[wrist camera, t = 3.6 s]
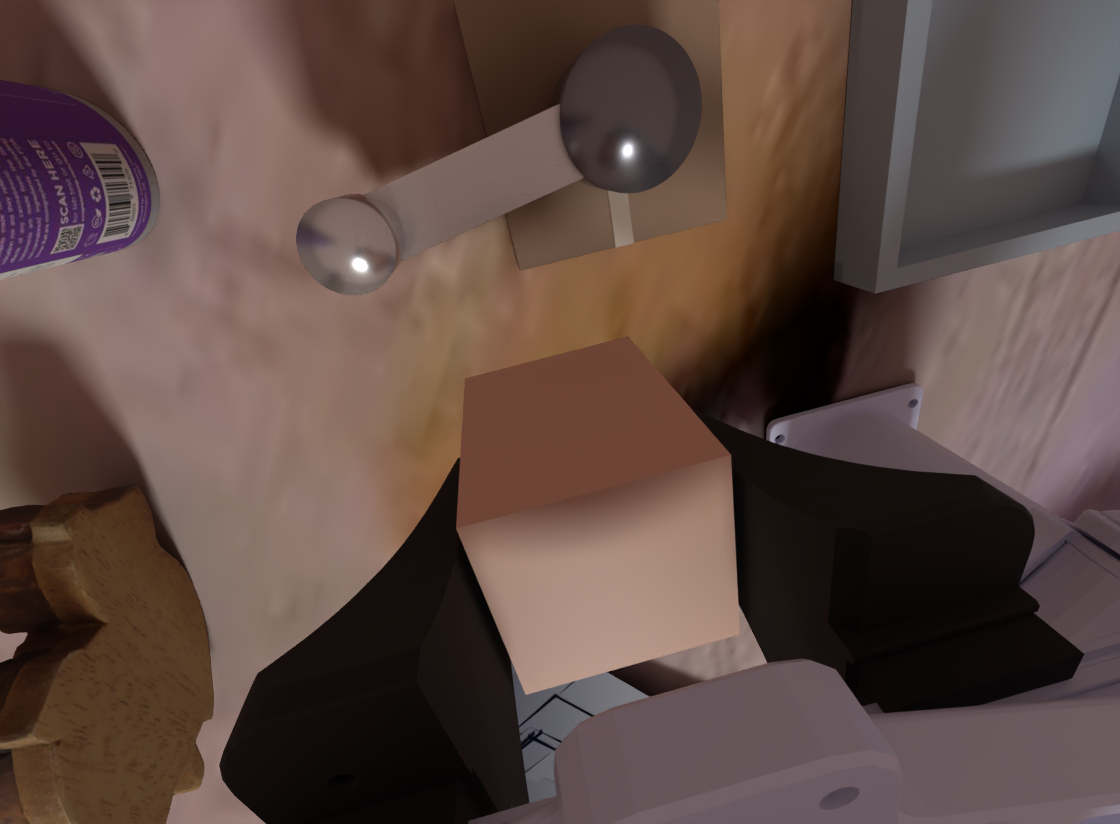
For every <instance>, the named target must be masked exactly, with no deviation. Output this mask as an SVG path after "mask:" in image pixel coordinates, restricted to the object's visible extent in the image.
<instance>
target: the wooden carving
mask: <svg viewBox="0 0 1120 824" xmlns="http://www.w3.org/2000/svg"><path fill="white" fill-rule="evenodd" d="M0 630H1V632H3V633H7V634H12V633H20V632H27V633H28V635H27V637H26V639H25V641H24V642H23V643H22V644H21V645H19V646H18V647H17V649H16V651H15V653H14V656H13V659H9V660H6V661H4V662H1V663H0V824H166V821H167V817H168V814H169V810H170V806H171V801H172V797H173V795H176V794H180V793H186V792H189V791H193V790H196V789H198V788H199V787H200V785H201V783H202V779H203V776H204V761H203V759H202V756H201V754H200V752H199V749H198V747H197V745H196V738H197V736H198V734H199V731H200V729H201V726H202V724H203V722H204V721H206V720H209V719H212V716H213V707H214V691H213V681H212V671H211V657H210V649H209V640H208V633H207V628H206V623H205V619H204V615H203V611H202V608H201V605H200V600H199V598H198V596H197V593H196V591H195V588H194V586H193V583H192V581H191V580H190V578H189V576H188V574H187V572H186V571H185V569H184V568H183V567H182V565H181V564H180V563H179V561H178V560H176V559H175V558H174V557H173V556H172V555H170V554H169V553H168V552H166V551H165V550H164V549H163V548H162V547H161V546H159V543H158V541H157V538H156V533H155V526H154V522H153V517H152V511H151V508H150V506H149V505H148V503H147V500H146V497H145V496H144V494H143V493H142V491H141V489H140V488H138V487H137V486H136V485H132V486H125V487H118V488H111V489H107V490H104V491H99V492H88V493H68V494H65V495H62V496H61V497H59V498H57V499H56V500H54V501H53V502H51V503H50V504H48V505H26V506H19V507H11V508H8V509H4V510H0Z"/></svg>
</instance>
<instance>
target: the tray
mask: <svg viewBox="0 0 1120 824" xmlns="http://www.w3.org/2000/svg"><path fill="white" fill-rule="evenodd" d="M1117 231H1120V0H853V4H852V18H851V33H850V47H849V62H848V76H847V91H846V105H845V120H844V135H843V149H842V164H841V178H840V193H839V207H838V222H837V236H836V251H835V266H834V280H835V281H838V282H841V283H844V284H847V285H850V286H853V287H856V288H859V289H862V290H865V291H868V292H871V293H874V294H876V293H880V292H884V291H888V290H892V289H896V288H899V287H903V286H907V285H911V284H915V283H919V282H923V281H927V280H931V279H934V278H938V277H942V276H946V275H950V274H954V273H958V272H962V271H966V270H969V269H973V268H977V267H981V266H985V265H989V264H993V263H997V262H1001V261H1004V260H1008V259H1012V258H1016V257H1020V256H1024V255H1028V254H1032V253H1036V252H1039V251H1043V250H1047V249H1051V248H1055V247H1059V246H1063V245H1067V244H1071V243H1074V242H1078V241H1082V240H1086V239H1090V238H1094V237H1098V236H1102V235H1106V234H1109V233H1113V232H1117Z"/></svg>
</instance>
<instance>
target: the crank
mask: <svg viewBox="0 0 1120 824" xmlns="http://www.w3.org/2000/svg"><path fill="white" fill-rule="evenodd" d="M701 112H702V95H701V88H700V82H699V79H698V75H697V72H696V69H695V67H694V64H693V62H692V61H691V59H690V57H689V55H688V54H687V52H686V51H685V50H684V48H683V47H682V46H681V45H680V44H679V43H678V42H677V41H676V40H675V39H674V38H673V37H671V36H670V35H668V34H667V33H665V32H663V31H661V30H659V29H657V28H654V27H651V26H646V25H626V26H621V27H618V28H615V29H613V30H610V31H608V32H606V33H605V34H603V35H601V36H600V37H599V38H597V39H596V40H595V41H593V42H592V43H591V44H590V45H589V46H588V47H587V48H586V49H585V50H584V51H583V53H582V54H581V55H580V56H579V57H578V58H577V59H576V60H575V61H574V62H573V63H572V64H571V65H570V66H569V67H568V68H567V69H566V71H565V72H564V73H563V75H562V76H561V78H560V80H559V82H558V83H557V86H556V88H555V91H554V93H553V97H552V100H551V105H550V108H549V109H547V110H545V111H543V112H541V113H539V114H537V115H534V116H532V117H530V118H528V119H526V120H524V121H522V122H519V123H517V124H515V125H513V126H511V127H509V128H506V129H504V130H502V131H500V132H498V133H496V134H494V135H491V136H489V137H487V138H485V139H483V140H481V141H478V142H476V143H474V144H472V145H470V146H468V147H466V148H463V149H461V150H459V151H457V152H455V153H453V154H450V155H448V156H446V157H444V158H442V159H440V160H438V161H435V162H433V163H431V164H429V165H427V166H425V167H422V168H420V169H418V170H416V171H414V172H412V173H410V174H407V175H405V176H403V177H401V178H399V179H397V180H394V181H392V182H390V183H388V184H386V185H384V186H382V187H379V188H377V189H375V190H373V191H371V192H369V193H366V194H364V195H362V194H348V195H344V196H340V197H336V198H332V199H328V200H324V201H322V202H319V203H317V204H315V205H314V206H312V207H311V208H310V209H309V210H308V211H307V212H306V213H305V214H304V215H303V217H302V219H301V221H300V223H299V225H298V229H297V236H296V243H297V249H298V253H299V256H300V259H301V261H302V263H303V265H304V266H305V268H306V269H307V271H308V272H309V273H310V275H311V276H312V277H313V278H314V279H315V280H317V281H318V282H319V283H320V284H322V285H323V286H324V287H326V288H328V289H330V290H332V291H335V292H337V293H341V294H345V295H363V294H367V293H370V292H372V291H374V290H376V289H378V288H379V287H380V286H382V285H383V284H384V283H385V282H386V281H387V279H388V278H389V277H390V275H391V274H392V273H393V271H394V270H395V269H396V267H397V266H398V265H399V263H400V261H402V260H404V259H406V258H409V257H411V256H413V255H415V254H417V253H420V252H422V251H424V250H426V249H428V248H431V247H433V246H435V245H437V244H439V243H442V242H444V241H446V240H448V239H450V238H453V237H455V236H457V235H459V234H461V233H464V232H466V231H468V230H470V229H472V228H475V227H477V226H479V225H481V224H483V223H485V222H488V221H490V220H492V219H494V218H496V217H499V216H501V215H503V214H505V213H507V212H510V211H512V210H514V209H516V208H518V207H521V206H523V205H525V204H527V203H529V202H532V201H534V200H536V199H538V198H540V197H543V196H545V195H547V194H549V193H551V192H554V191H556V190H558V189H560V188H562V187H565V186H567V185H569V184H571V183H573V182H576V181H578V180H579V181H580V182H582V183H584V184H586V185H589V186H591V187H595V188H599V189H604V190H608V191H613V192H618V193H627V194H628V193H638V192H643V191H646V190H649V189H652V188H654V187H656V186H658V185H660V184H661V183H663V182H664V181H666V180H667V179H668V178H669V177H671V176H672V175H673V174H674V173H675V172H676V171H677V170H678V168H679V167H680V166H681V165H682V164H683V162H684V161H685V159H686V158H687V156H688V154H689V153H690V151H691V149H692V147H693V144H694V142H695V140H696V137H697V133H698V130H699V126H700V120H701Z"/></svg>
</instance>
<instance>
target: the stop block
mask: <svg viewBox="0 0 1120 824" xmlns="http://www.w3.org/2000/svg"><path fill="white" fill-rule="evenodd" d="M456 530H457V532H458V534H459V537H460V539H461V542H462V544H463V546H464V549H465V551H466V553H467V556H468V558H469V561H470V563H471V565H472V568H473V570H474V573H475V575H476V577H477V580H478V582H479V584H480V587H481V589H482V592H483V594H484V596H485V599H486V601H487V604H488V606H489V608H490V611H491V613H492V616H493V618H494V620H495V623H496V625H497V627H498V630H499V632H500V635H501V637H502V639H503V642H504V644H505V647H506V649H507V651H508V654H509V656H510V659H511V661H512V663H513V666H514V668H515V670H516V673H517V675H518V678H519V680H520V682H521V685H522V687H523V690H524V692H525V694H526V695H527V694H531V693H534V692H538V691H542V690H545V689H549V688H552V687H556V686H559V685H563V684H566V683H570V682H573V681H577V680H580V679H584V678H587V677H591V676H595V675H598V674H602V673H605V672H609V671H612V670H616V669H619V668H623V667H626V666H630V665H633V664H637V663H641V662H644V661H648V660H651V659H655V658H658V657H662V656H665V655H669V654H672V653H676V652H679V651H683V650H686V649H690V648H694V647H697V646H701V645H704V644H708V643H711V642H715V641H718V640H722V639H725V638H729V637H732V636H736V635H740V627H739V607H738V587H737V567H736V546H735V526H734V506H733V485H732V465H731V454H730V453H729V452H728V451H727V450H726V448H725V447H724V446H723V445H722V444H721V443H720V442H719V440H718V439H717V438H716V437H715V436H714V435H713V433H712V432H711V431H710V430H709V429H708V428H707V427H706V425H705V424H704V423H703V422H702V421H701V420H700V419H699V417H698V416H697V415H696V414H695V413H694V412H693V411H692V409H691V408H690V407H689V406H688V405H687V404H686V403H685V401H684V400H683V399H682V398H681V397H680V396H679V394H678V393H677V392H676V391H675V390H674V389H673V388H672V386H671V385H670V384H669V383H668V382H667V381H666V380H665V378H664V377H663V376H662V375H661V374H660V373H659V372H658V370H657V369H656V368H655V367H654V366H653V365H652V364H651V362H650V361H649V360H648V359H647V358H646V357H645V355H644V354H643V353H642V352H641V351H640V350H639V349H638V347H637V346H636V345H635V344H634V343H633V342H632V341H631V339H630V338H629V337H624V338H621V339H617V340H613V341H609V342H605V343H601V344H597V345H594V346H590V347H586V348H582V349H578V350H574V351H570V352H566V353H563V354H559V355H555V356H551V357H547V358H543V359H539V360H536V361H532V362H528V363H524V364H520V365H516V366H512V367H508V368H505V369H501V370H497V371H493V372H489V373H485V374H481V375H477V376H474V377H470V378H466V379H465V389H464V405H463V422H462V439H461V456H460V472H459V489H458V506H457V523H456Z"/></svg>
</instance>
